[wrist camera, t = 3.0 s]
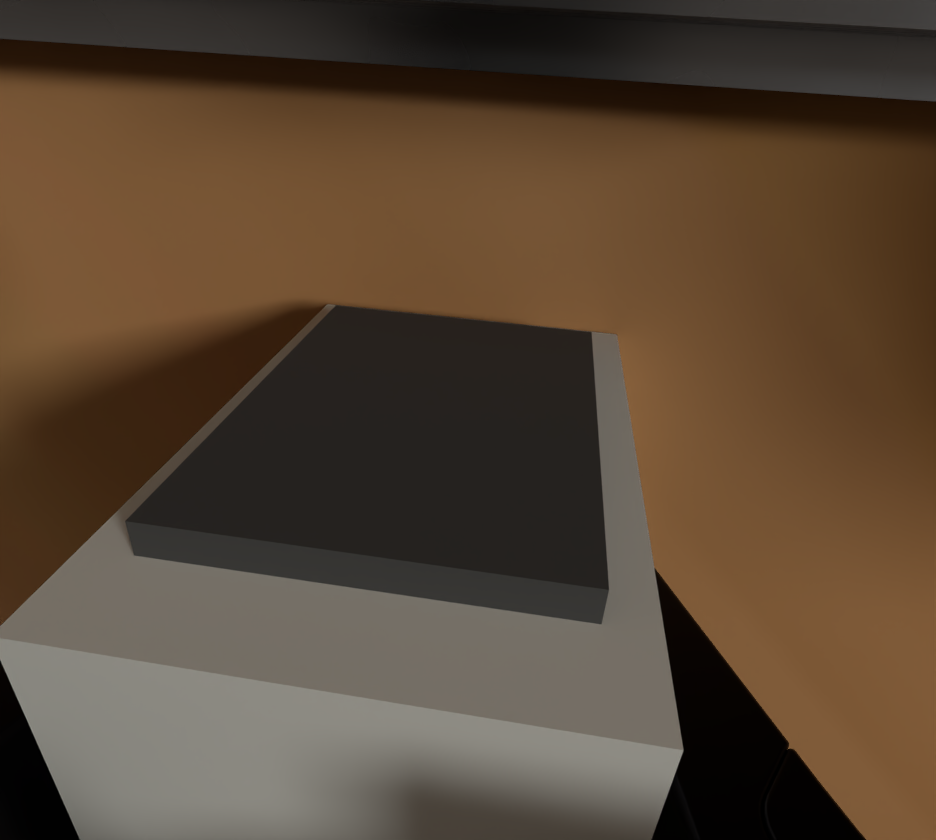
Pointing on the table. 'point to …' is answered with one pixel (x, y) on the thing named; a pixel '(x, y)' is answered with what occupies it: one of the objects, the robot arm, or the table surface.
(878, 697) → the table surface
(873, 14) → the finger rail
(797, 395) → the table surface
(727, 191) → the table surface
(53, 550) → the table surface
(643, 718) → the block
